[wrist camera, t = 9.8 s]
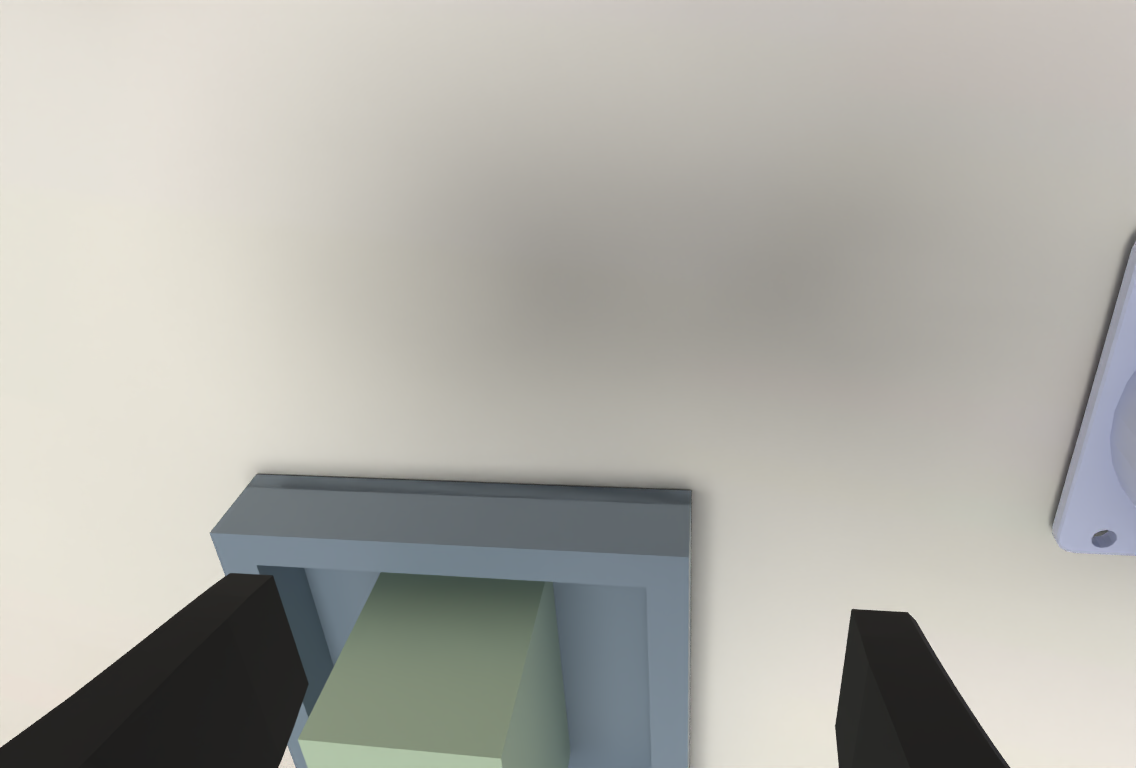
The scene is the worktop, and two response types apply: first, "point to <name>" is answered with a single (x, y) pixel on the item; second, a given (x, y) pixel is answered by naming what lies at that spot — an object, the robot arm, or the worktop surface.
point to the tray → (500, 551)
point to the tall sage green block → (445, 679)
